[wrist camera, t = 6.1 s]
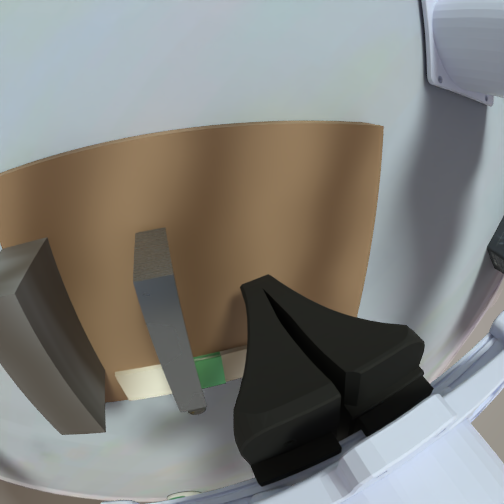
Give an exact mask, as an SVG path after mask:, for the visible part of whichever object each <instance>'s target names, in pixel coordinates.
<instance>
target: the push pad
mask: <svg viewBox="0 0 504 504" xmlns="http://www.w3.org/2000/svg"><path fill="white" fill-rule="evenodd" d="M133 284H134V287H135V291H136V294H137V297H138V301H139V304H140V307H141V310H142V313H143V316H144V319H145V322H146V325H147V328H148V331H149V334H150V337H151V340H152V343H153V345H154V348H155V351H156V353H157V356H158V359H159V361H160V364H161V367H162V369H163V372H164V374H165V377H166V379H167V382H168V384H169V386H170V389H171V391H172V394H173V396H174V398H175V401H176V403H177V405H178V407H179V410H180V412H184V411H188V413H190V414H193V415H197V414H201V413H203V412H204V411H205V410H206V407H207V405H206V402H205V398H204V395H203V391H202V388H201V384H200V381H199V377H198V373H197V370H196V366H195V362H194V358H193V354H192V350H191V346H190V342H189V338H188V334H187V330H186V326H185V322H184V318H183V313H182V309H181V305H180V300H179V296H178V291H177V286H176V281H175V277H174V272H173V267H172V261H171V256H170V251H169V245H168V240H167V234H166V228H165V227H164V228H158V229H153V230H148V231H143V232H138V233H135V246H134V266H133Z"/></svg>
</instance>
